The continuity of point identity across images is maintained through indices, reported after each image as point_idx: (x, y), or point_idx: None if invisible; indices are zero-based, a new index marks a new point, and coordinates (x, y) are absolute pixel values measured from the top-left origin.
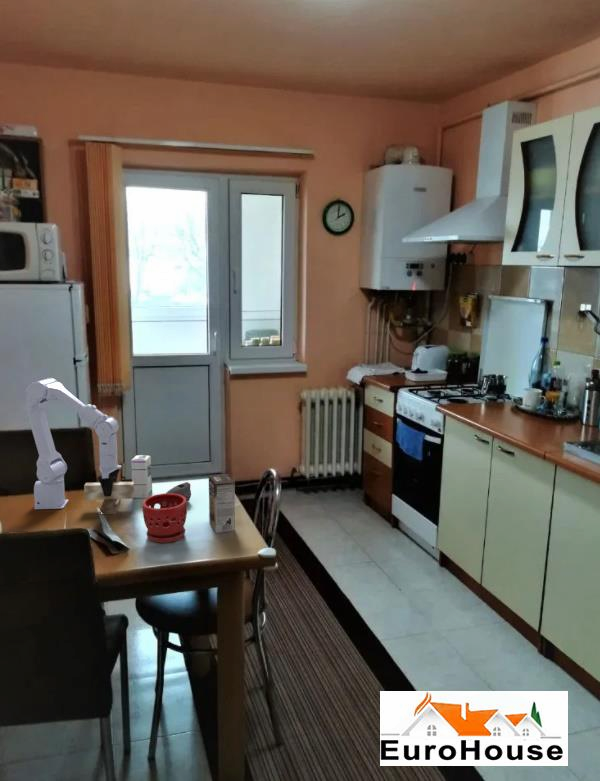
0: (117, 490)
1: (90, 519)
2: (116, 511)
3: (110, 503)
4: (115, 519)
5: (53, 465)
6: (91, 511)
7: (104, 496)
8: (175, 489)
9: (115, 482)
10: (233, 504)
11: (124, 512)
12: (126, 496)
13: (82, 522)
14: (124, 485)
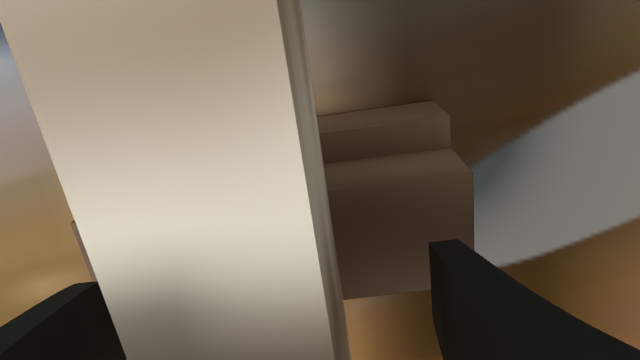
0: (317, 197)
1: (558, 279)
2: (377, 109)
3: (468, 191)
4: (595, 51)
5: None
6: (363, 327)
7: (344, 323)
8: None
9: (145, 341)
10: None
11: (386, 14)
12: (298, 15)
13: (621, 316)
14: (286, 74)
